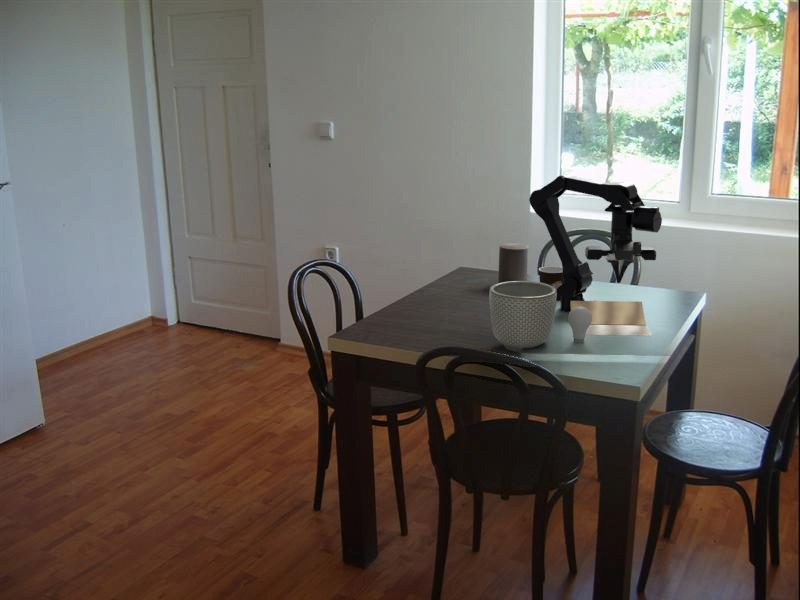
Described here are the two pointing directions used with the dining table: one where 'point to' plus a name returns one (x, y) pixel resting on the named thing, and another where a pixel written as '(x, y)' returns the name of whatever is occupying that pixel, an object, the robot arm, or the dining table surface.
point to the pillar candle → (513, 262)
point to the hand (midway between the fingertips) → (618, 282)
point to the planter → (522, 313)
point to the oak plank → (613, 312)
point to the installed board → (618, 330)
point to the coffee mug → (551, 277)
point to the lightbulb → (579, 322)
